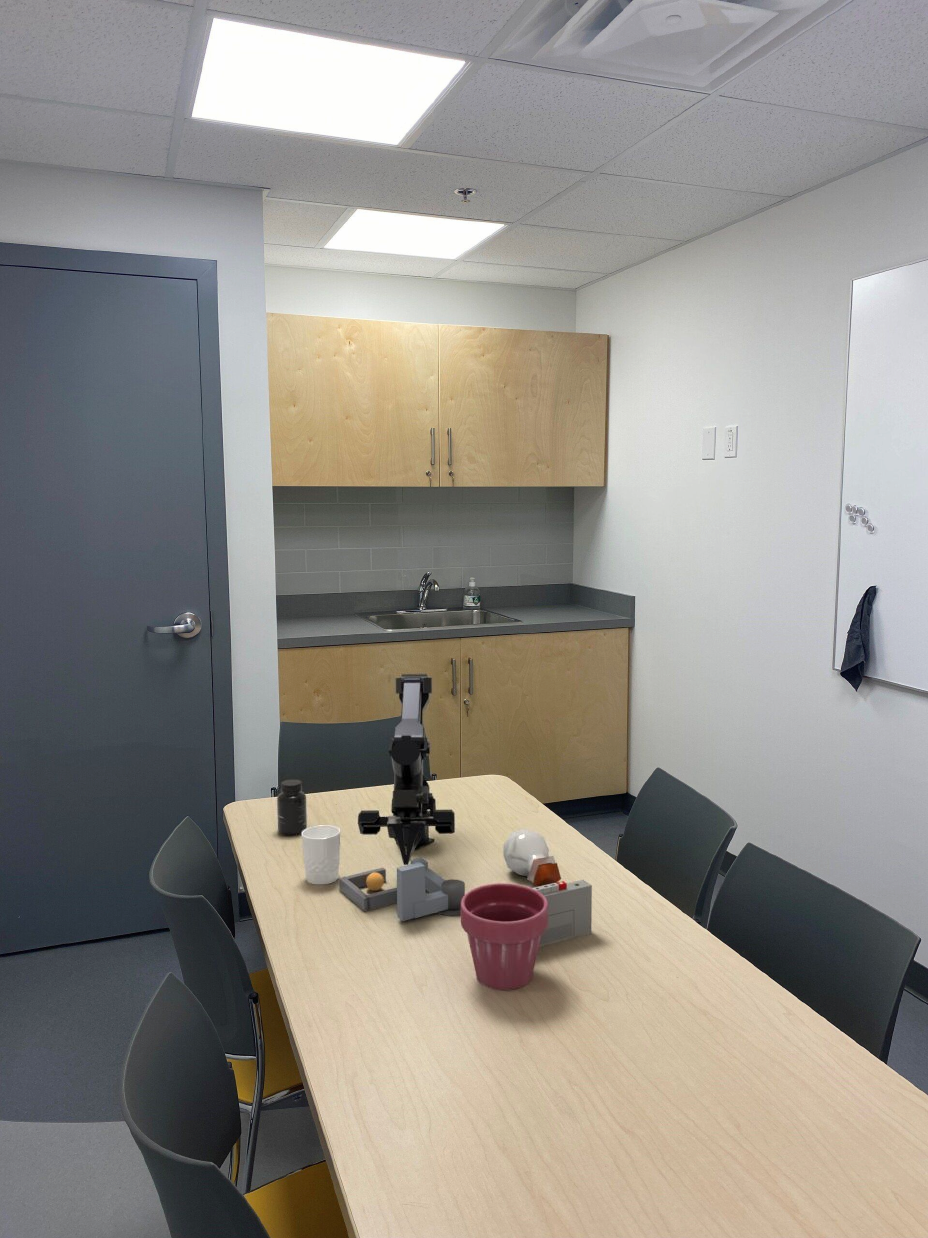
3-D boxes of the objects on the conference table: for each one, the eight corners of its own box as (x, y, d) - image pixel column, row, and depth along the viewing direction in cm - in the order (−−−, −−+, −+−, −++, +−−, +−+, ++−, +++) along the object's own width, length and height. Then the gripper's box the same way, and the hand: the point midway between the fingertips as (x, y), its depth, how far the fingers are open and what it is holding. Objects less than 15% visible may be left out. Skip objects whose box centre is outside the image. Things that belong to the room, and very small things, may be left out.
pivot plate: (435, 900, 173) (435, 898, 173) (471, 899, 173) (471, 898, 173) (434, 916, 166) (434, 915, 166) (471, 916, 166) (471, 914, 166)
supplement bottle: (272, 835, 209) (270, 785, 207) (286, 825, 215) (284, 777, 214) (299, 838, 207) (297, 787, 205) (312, 828, 213) (310, 779, 212)
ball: (376, 875, 180) (370, 866, 178) (389, 882, 178) (383, 873, 176) (366, 889, 179) (360, 881, 176) (379, 896, 177) (373, 888, 174)
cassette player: (582, 927, 161) (583, 874, 160) (591, 933, 159) (591, 880, 158) (507, 946, 154) (507, 891, 153) (515, 953, 152) (514, 897, 151)
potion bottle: (520, 869, 191) (551, 905, 177) (487, 850, 187) (516, 886, 173) (544, 833, 191) (577, 866, 177) (512, 814, 187) (543, 846, 173)
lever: (365, 890, 176) (364, 843, 175) (425, 875, 183) (424, 830, 182) (405, 923, 161) (404, 873, 160) (469, 906, 168) (468, 857, 167)
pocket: (383, 879, 183) (383, 867, 183) (409, 899, 173) (409, 887, 173) (339, 890, 178) (339, 878, 177) (364, 911, 168) (364, 899, 168)
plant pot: (542, 1004, 136) (542, 924, 134) (452, 995, 139) (451, 917, 137) (552, 958, 150) (552, 886, 148) (470, 951, 153) (469, 879, 151)
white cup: (345, 871, 187) (344, 825, 186) (336, 887, 179) (335, 839, 178) (308, 870, 188) (307, 824, 187) (298, 885, 180) (296, 838, 179)
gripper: (357, 771, 172) (352, 848, 163) (453, 770, 172) (454, 846, 163) (362, 796, 181) (358, 870, 171) (454, 795, 181) (454, 869, 172)
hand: (405, 864), depth 169 cm, fingers closed
